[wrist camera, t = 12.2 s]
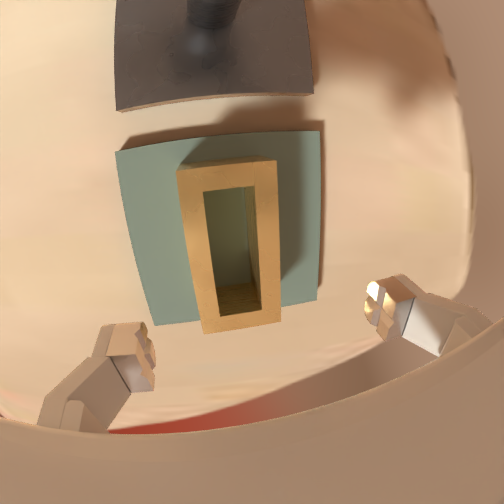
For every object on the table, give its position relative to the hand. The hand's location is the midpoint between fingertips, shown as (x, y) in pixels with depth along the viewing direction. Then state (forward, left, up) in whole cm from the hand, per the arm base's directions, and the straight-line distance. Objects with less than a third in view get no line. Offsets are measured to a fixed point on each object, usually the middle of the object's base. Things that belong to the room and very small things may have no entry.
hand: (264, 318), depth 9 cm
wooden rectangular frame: (+1, 0, -10) cm, 10 cm away
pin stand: (-14, 0, -11) cm, 18 cm away
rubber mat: (+1, 0, -11) cm, 11 cm away
